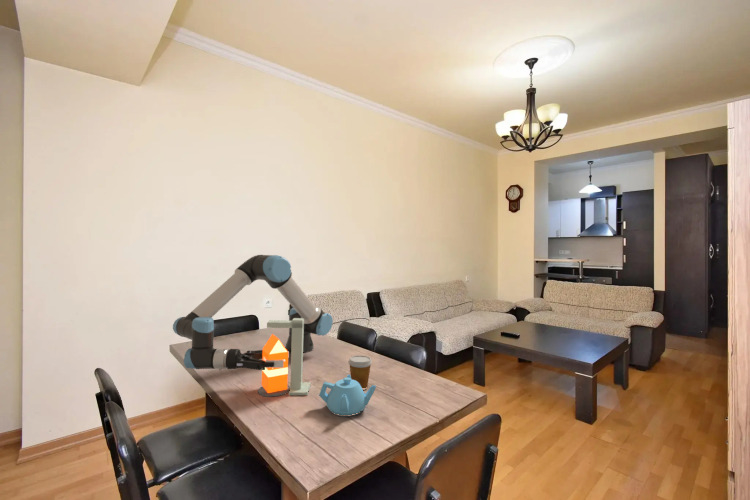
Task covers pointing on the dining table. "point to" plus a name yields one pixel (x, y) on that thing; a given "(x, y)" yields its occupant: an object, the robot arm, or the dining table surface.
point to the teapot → (346, 396)
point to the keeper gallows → (294, 354)
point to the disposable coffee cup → (360, 369)
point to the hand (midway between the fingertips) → (286, 359)
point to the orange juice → (275, 376)
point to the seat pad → (277, 393)
